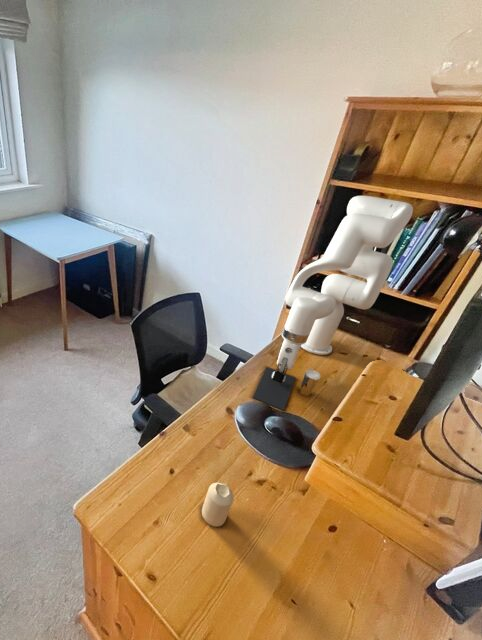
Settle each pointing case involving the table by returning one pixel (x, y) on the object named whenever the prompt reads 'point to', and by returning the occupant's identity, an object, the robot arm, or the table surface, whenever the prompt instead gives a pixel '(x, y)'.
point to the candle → (217, 504)
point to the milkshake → (309, 381)
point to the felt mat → (273, 390)
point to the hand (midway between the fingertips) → (278, 376)
